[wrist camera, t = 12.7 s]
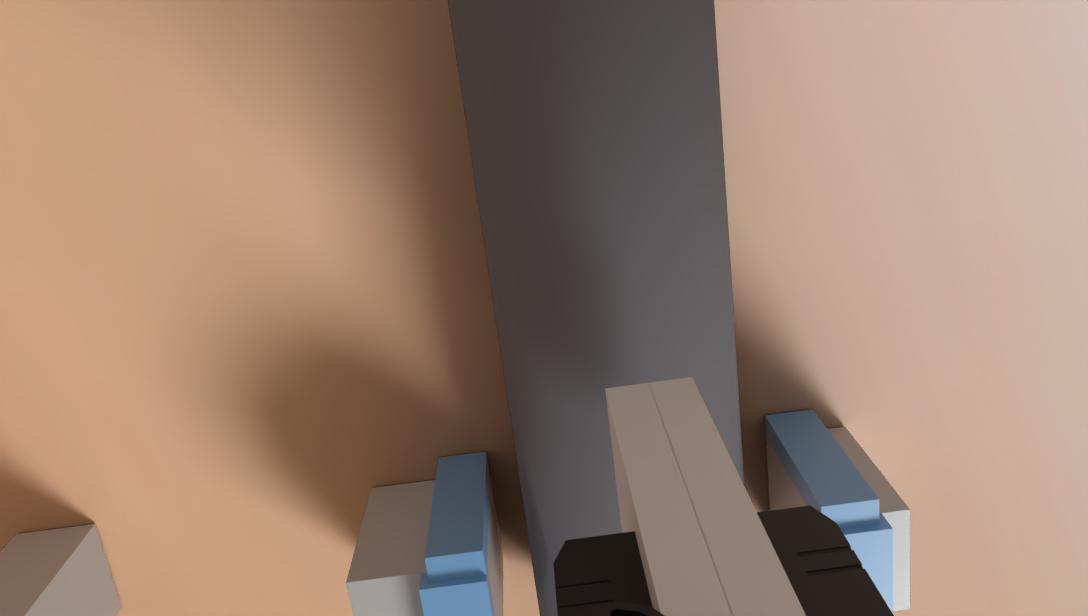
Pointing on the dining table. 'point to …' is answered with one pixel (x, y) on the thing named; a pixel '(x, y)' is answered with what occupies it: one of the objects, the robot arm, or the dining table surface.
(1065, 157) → the dining table surface
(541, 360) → the dark gray cylinder
